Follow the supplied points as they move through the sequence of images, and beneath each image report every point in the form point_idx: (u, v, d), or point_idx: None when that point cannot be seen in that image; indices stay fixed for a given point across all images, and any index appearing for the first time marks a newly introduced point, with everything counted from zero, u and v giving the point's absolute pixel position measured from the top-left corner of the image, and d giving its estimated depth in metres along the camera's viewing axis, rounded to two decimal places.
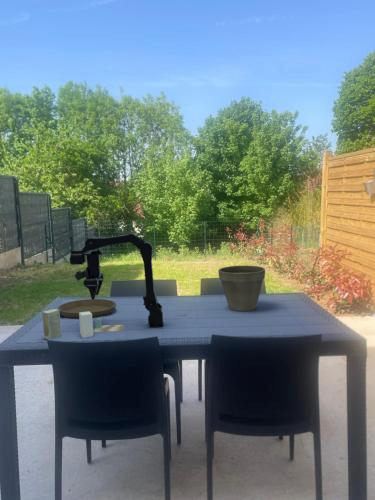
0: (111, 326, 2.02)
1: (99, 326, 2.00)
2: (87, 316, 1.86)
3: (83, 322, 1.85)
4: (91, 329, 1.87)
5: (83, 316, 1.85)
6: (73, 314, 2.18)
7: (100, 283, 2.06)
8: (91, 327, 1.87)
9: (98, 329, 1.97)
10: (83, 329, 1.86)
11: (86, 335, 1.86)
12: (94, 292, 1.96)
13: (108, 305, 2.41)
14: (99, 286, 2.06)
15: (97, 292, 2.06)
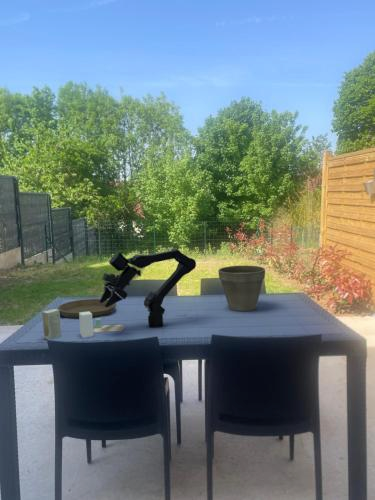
0: (111, 326, 2.02)
1: (99, 326, 2.00)
2: (87, 316, 1.86)
3: (83, 322, 1.85)
4: (91, 329, 1.87)
5: (83, 316, 1.85)
6: (73, 314, 2.18)
7: (111, 295, 1.98)
8: (91, 327, 1.87)
9: (98, 329, 1.97)
10: (83, 329, 1.86)
11: (86, 335, 1.86)
12: (113, 302, 1.87)
13: None
14: (108, 297, 1.97)
15: (102, 300, 1.96)
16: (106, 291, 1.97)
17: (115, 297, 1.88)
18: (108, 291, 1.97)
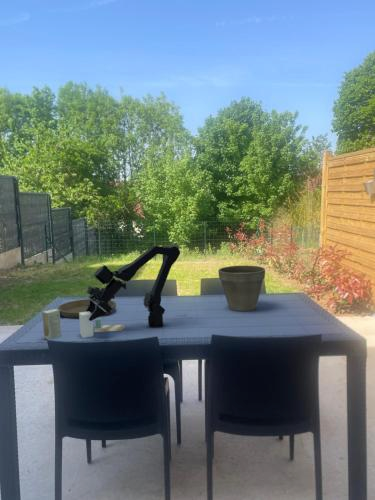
0: (111, 326, 2.02)
1: (99, 326, 2.00)
2: (87, 316, 1.86)
3: (83, 322, 1.85)
4: (91, 329, 1.87)
5: (83, 316, 1.85)
6: (73, 314, 2.18)
7: None
8: (91, 327, 1.87)
9: (98, 329, 1.97)
10: (83, 329, 1.86)
11: (86, 335, 1.86)
12: (97, 316, 1.85)
13: None
14: (93, 310, 1.94)
15: None
16: (91, 304, 1.94)
17: (99, 311, 1.85)
18: (93, 304, 1.94)
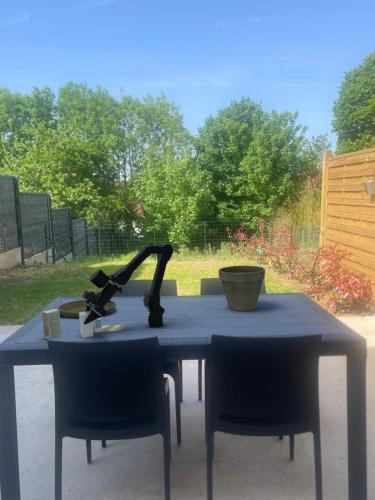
0: (111, 326, 2.02)
1: (99, 326, 2.00)
2: (87, 316, 1.86)
3: (83, 322, 1.85)
4: (91, 329, 1.87)
5: (83, 316, 1.85)
6: (73, 314, 2.18)
7: None
8: (91, 327, 1.87)
9: (98, 329, 1.97)
10: (83, 329, 1.86)
11: (86, 335, 1.86)
12: (91, 319, 1.85)
13: (108, 305, 2.41)
14: None
15: None
16: (87, 309, 1.92)
17: (94, 314, 1.86)
18: (90, 309, 1.92)
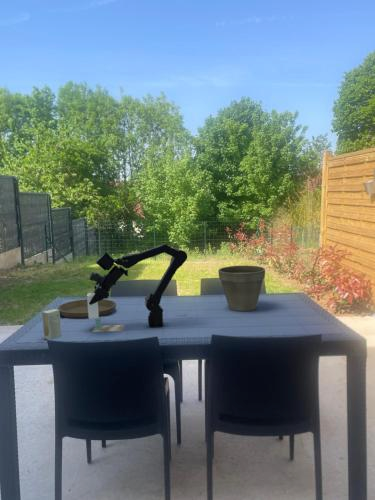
0: (111, 326, 2.02)
1: (99, 326, 2.00)
2: (92, 297, 1.93)
3: (88, 302, 1.93)
4: (96, 310, 1.94)
5: (88, 297, 1.93)
6: (73, 314, 2.18)
7: None
8: (97, 307, 1.94)
9: (98, 329, 1.97)
10: (88, 309, 1.93)
11: (92, 315, 1.94)
12: (96, 300, 1.92)
13: (108, 305, 2.41)
14: None
15: None
16: None
17: (98, 295, 1.92)
18: None
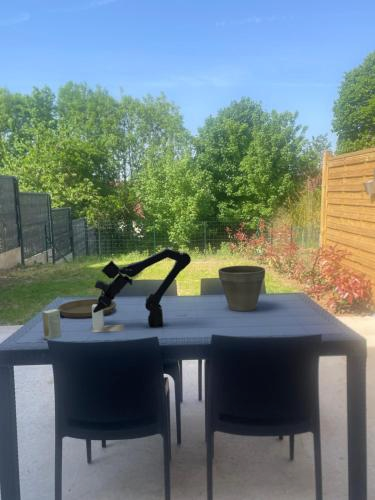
0: (111, 326, 2.02)
1: None
2: None
3: (93, 313, 1.97)
4: (100, 321, 1.98)
5: (93, 308, 1.97)
6: (73, 314, 2.18)
7: None
8: (101, 318, 1.98)
9: (98, 329, 1.97)
10: (93, 320, 1.98)
11: (96, 326, 1.98)
12: (100, 308, 1.95)
13: None
14: None
15: None
16: None
17: (102, 304, 1.94)
18: None
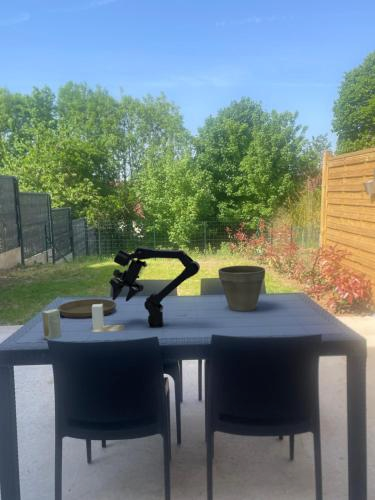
0: (111, 326, 2.02)
1: None
2: (97, 308, 1.97)
3: (93, 313, 1.97)
4: (100, 321, 1.98)
5: (93, 308, 1.97)
6: (73, 314, 2.18)
7: (134, 292, 2.06)
8: (101, 318, 1.98)
9: (98, 329, 1.97)
10: (93, 320, 1.98)
11: (96, 326, 1.98)
12: (115, 294, 1.98)
13: (108, 305, 2.41)
14: (131, 294, 2.07)
15: (127, 299, 2.07)
16: (130, 289, 2.08)
17: (116, 289, 1.98)
18: (131, 289, 2.07)
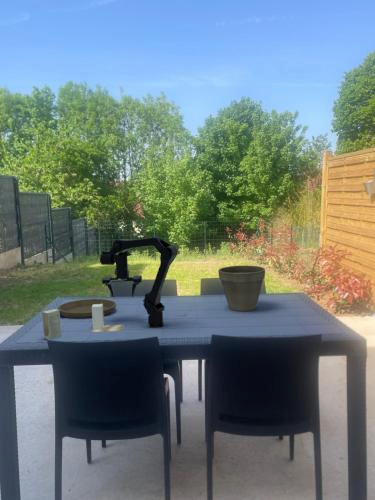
0: (111, 326, 2.02)
1: None
2: (97, 308, 1.97)
3: (93, 313, 1.97)
4: (100, 321, 1.98)
5: (93, 308, 1.97)
6: (73, 314, 2.18)
7: (132, 286, 2.05)
8: (101, 318, 1.98)
9: (98, 329, 1.97)
10: (93, 320, 1.98)
11: (96, 326, 1.98)
12: None
13: (108, 305, 2.41)
14: (132, 288, 2.06)
15: None
16: None
17: None
18: None
